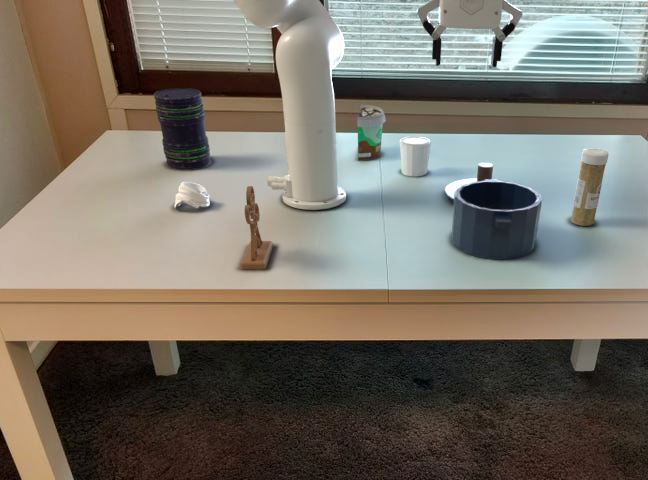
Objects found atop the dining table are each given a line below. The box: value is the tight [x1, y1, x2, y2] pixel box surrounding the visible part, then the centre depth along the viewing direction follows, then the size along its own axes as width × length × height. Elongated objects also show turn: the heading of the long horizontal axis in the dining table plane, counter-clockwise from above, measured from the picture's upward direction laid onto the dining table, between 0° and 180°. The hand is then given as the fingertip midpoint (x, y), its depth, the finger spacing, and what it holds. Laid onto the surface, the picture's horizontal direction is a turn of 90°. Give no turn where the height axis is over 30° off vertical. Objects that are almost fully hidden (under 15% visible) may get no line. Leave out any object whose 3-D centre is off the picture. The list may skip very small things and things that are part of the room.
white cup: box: [399, 136, 432, 177], centre depth 142 cm, size 7×7×7 cm
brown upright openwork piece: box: [240, 185, 274, 270], centre depth 104 cm, size 9×4×12 cm, turn 1°
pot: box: [451, 178, 543, 260], centre depth 112 cm, size 15×20×8 cm
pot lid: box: [444, 162, 494, 202], centre depth 131 cm, size 16×16×7 cm
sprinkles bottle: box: [570, 147, 609, 227], centre depth 119 cm, size 5×5×13 cm
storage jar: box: [153, 87, 212, 171], centre depth 142 cm, size 10×10×15 cm
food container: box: [356, 104, 387, 161], centre depth 151 cm, size 12×6×10 cm, turn 179°
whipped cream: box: [173, 181, 211, 210], centre depth 124 cm, size 8×7×5 cm
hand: (465, 65), depth 111 cm, fingers open, 9 cm apart
